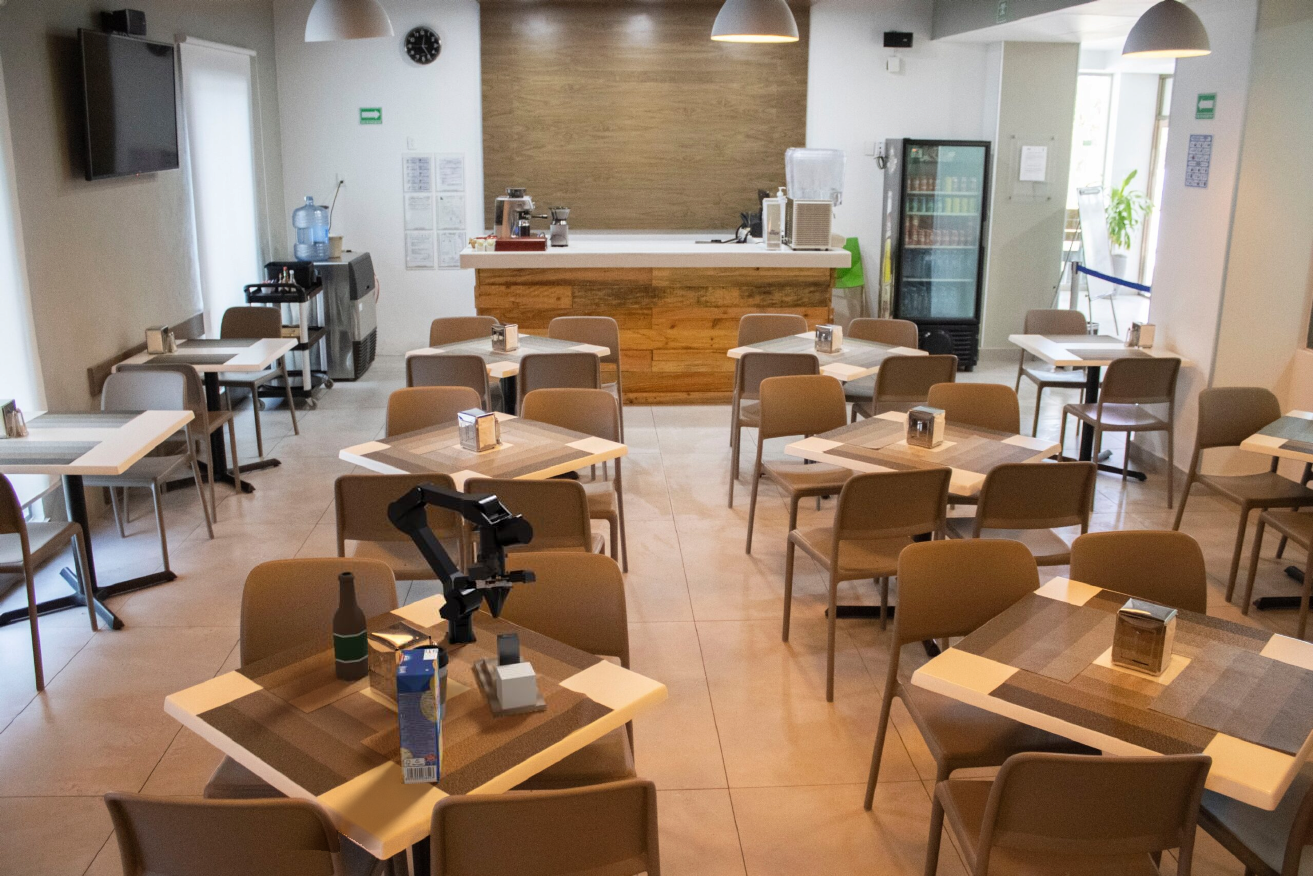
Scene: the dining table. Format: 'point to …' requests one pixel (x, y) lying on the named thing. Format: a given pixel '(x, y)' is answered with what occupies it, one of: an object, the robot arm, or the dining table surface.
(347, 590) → the beer bottle
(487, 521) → the robot arm
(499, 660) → the dark grey rectangular block
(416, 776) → the beverage box
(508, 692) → the socket
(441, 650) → the coffee cup
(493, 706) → the rail
